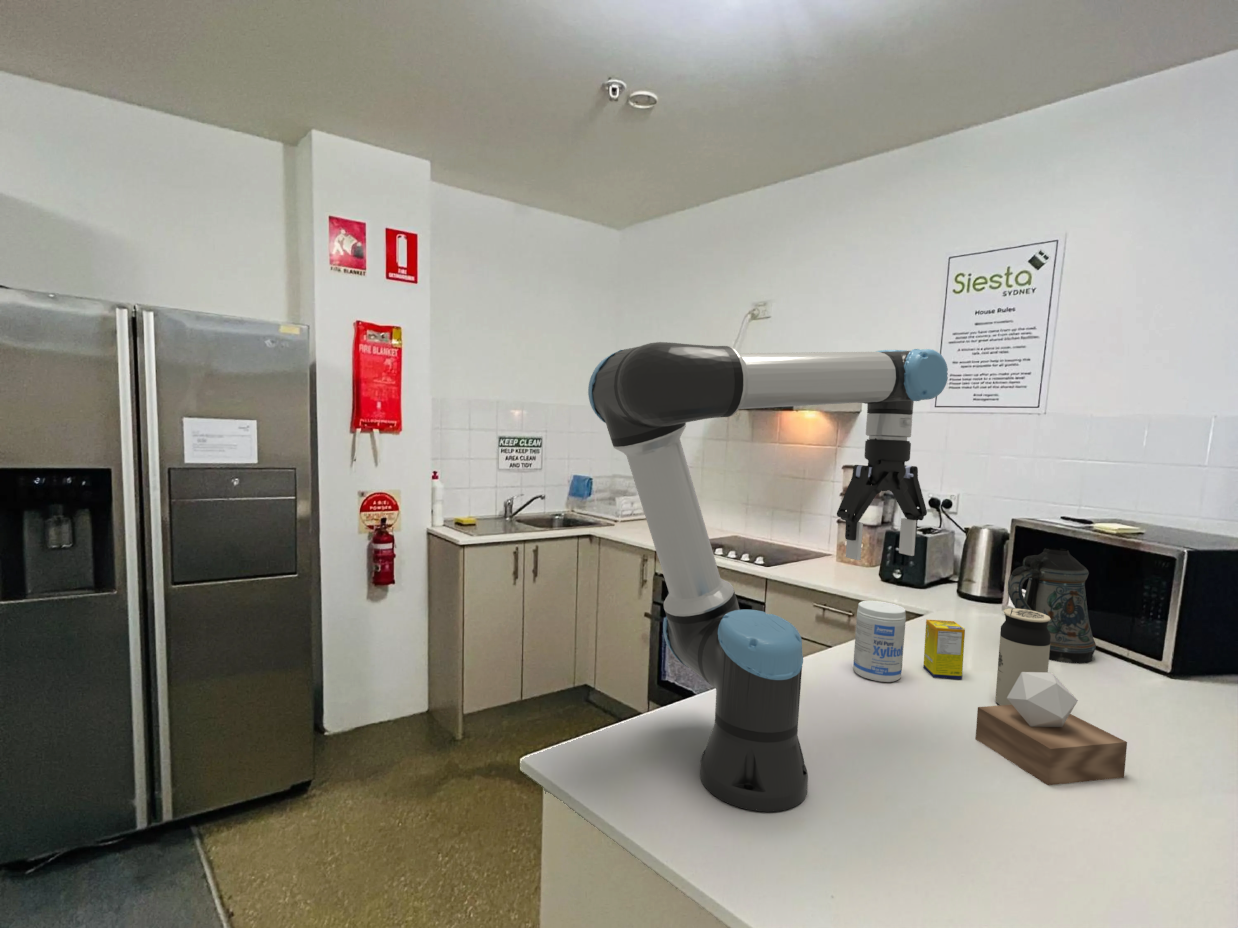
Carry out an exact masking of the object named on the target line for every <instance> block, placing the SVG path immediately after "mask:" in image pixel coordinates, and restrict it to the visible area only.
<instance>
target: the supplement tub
mask: <svg viewBox="0 0 1238 928" xmlns="http://www.w3.org/2000/svg"><path fill="white" fill-rule="evenodd" d="M857 605H858V606H857V612H856V623H855V633H854V634H855V636H854V650H853V664H852V667H853V671H854V672H855V673H856V674H857V675H858V676H860V677H862V678H863V679H864V678H865V679H868V680H871V681H876V682H880V683H881V682H882V683H891V682H896V681H898V680H900V679H901V677H902V671H903V656H904V647H905V634H906V620H907V619H906V618H907V615H906V609H905V607H903V606H901V605H898V604H894V603H891V602H885V601H880V600H864V601H860V602H859V603H858V604H857Z"/></svg>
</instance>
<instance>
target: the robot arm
mask: <svg viewBox="0 0 1238 928" xmlns="http://www.w3.org/2000/svg"><path fill="white" fill-rule="evenodd" d="M948 370H949V369H948V365H947V362H946V360H945V358H944V357H943V355H942V353H940V352H938V351H937V350H934V349H930V348H928V349H927V348H926V349H925V348H924V349H920V348H914V349H911V350H907V349H906V350H905V349H883V350H876V351H830V352H829V351H828V352H827V351H825V352H822V351H820V352H818V351H817V352H813V351H812V352H757V353H755V352H750V353H749V352H746V353H745V352H744V353H739V352H738V351H737V349H735V348H734V347H732V346H730V345H729V346H728V345H706V344H705V345H704V344H691V343H679V342H678V343H677V342H664V341H657V342H648V343H646V344H643V345H639V346H635V347H632V348H631V347H630V348H625V349H620V350H618V351H616V352H613V353H611V354H610V355H608V356H607V357H604V358H603V360H601V361H600V362H599V363H598V364H597V366H596V367H595V368H594V370H593V371H592V374H591V375H590V378H589V383H588V391H587V393H588V394H587V395H588V401H589V405H590V406H591V409H592V412H594V414H595V415H596V416H597V418H599V420H600V421H602V422H603V423H604V424H606V428H607V431H608V434H609V437H610V440H611V444H612V447H613V449H615V450H617V451H619V452H621V453H623V454H624V455H625V456H626V458H627V462H628V465H629V469H630V472H631V474H632V478H633V481H634V485H635V488H636V491H637V493H638V494H637V495H638V497H639V500H640V503H641V506H642V511H643V513H644V517H645V519H646V523H647V527H648V530H649V533H650V536H651V539H652V543H653V545H654V549H655V552H656V555H657V558H658V561H659V565H660V569H661V571H662V574H663V578H664V581H665V584H666V587H667V591H668V594H667V596H666V597H665V600H664V601H663V609H664V612H665V617H664V619H663V623H662V629H663V631H662V632H663V637H664V641H665V643H666V645H667V647H668V649H669V650H670V652H671V653H672V655H673V656H674V658H675V659H677V660H678V662H679V663H680V664H682V665H683V666H685V667H686V668H688V669H690V670H691V671H692V672H693V673H695V674H696V675H697V676H699V678H700V677H701V679H702V680H704V681H706V682H707V683H708V684H709V685H711V686H712V687H713V688H714V689H715V711H714V724H713V727H712V730H711V732H710V735H709V738H708V741H707V744H706V747H705V749H704V750H703V753H702V755H701V758H700V767H699V770H700V771H699V777H700V781H701V783H702V784H703V786H704V787H705V789H706V790H707V791H708V792H709V793H711V794H712V795H713V796H714V797H716V798H717V799H719V800H721V801H723V802H725V803H727V804H729V805H731V806H735V807H738V808H741V809H745V810H749V811H755V812H756V811H757V812H769V813H770V812H780V811H784V810H788V809H789V810H790V809H792V808H795V807H796V806H798V805H799V804H801V803H802V802H804V800H805V799H806V798H807V794H808V786H809V785H808V784H809V775H808V770H807V766H806V764H805V760H804V759H805V758H804V753H803V750H802V747H801V744H800V739H799V736H798V735H799V734H798V732H799V731H798V730H799V729H798V728H799V717H800V715H799V714H800V712H799V711H800V699H801V687H802V671H803V664H804V656H803V642H802V641H803V640H802V636H801V634H800V632H799V630H798V629H797V627H795V626H794V625H793V624H792V622H789V621H788V620H786V619H784V618H783V617H782V616H779V615H776V614H774V613H766V612H765V611H762V610H756V609H741V608H740V606H739V602H738V598H737V596H736V591H735V589H734V586H733V585H732V583H731V582H729V581H727V580H725V579H723V578H721V575H720V572H719V568H718V565H717V562H716V558H715V554H714V551H713V547H712V544H711V541H710V537H709V533H708V529H707V527H706V524H705V521H704V516H703V513H702V510H701V507H700V503H699V500H698V497H697V492H696V490H695V487H694V483H693V479H692V476H691V472H690V470H689V465H688V462H687V458H686V456H685V452H684V448H683V445H682V442H681V436H682V434H684V433H683V432H684V431H685V429H686V428H687V423H690V422H695V421H696V422H697V421H701V420H702V421H703V420H707V419H715V418H717V419H719V418H729V417H732V416H734V415H736V413H737V412H738V411H739V410H746V409H762V408H763V409H764V408H782V407H783V408H784V407H801V406H802V407H805V406H820V405H822V406H825V405H838V404H839V405H843V404H867V405H866V406H867V409H866V413H867V414H866V423H865V424H866V425H865V435H866V436H867V437H868V439H866V440H865V441H864V459H866V460H867V465H863V464H854V466H853V469H852V475H851V479H850V481H849V483H848V486H847V489H846V490H845V492H844V495H843V496H842V500H841V501H840V504H839V507H838V510H837V512H836V516H837V518H840V519H841V520H843V521H845V528H844V529H845V533H844V535H845V536H844V537H845V540H846V543H845V544H846V545H845V558H848V559H851V560H855V561H862V560H861V559H862V546H863V545H862V544H863V530H864V522H861V519H862V518H863V516H864V514H866V511H867V510H868V509H869V507H870V505H871V504H872V503H873V501H874V500H875V497H876V496H877V495H879V494H881V492H888V491H889V492H890V493H892V495H893V497H894V499H895V500H896V502H897V505H898V506H899V508H900V510H901V512H902V514H903V516H904V518H901V517H900V529H899V530H900V531H899V545H898V553H899V554H902V555H906V556H911V557H913V556H915V549H916V548H915V546H916V536H917V532H918V521H923V520H924V517H926V516H927V514H928V510H927V507H926V503H925V499H924V496H923V492H922V488H921V485H920V481H919V477H918V476H919V470H918V466H917V465H916V466H915V465H906V464H905V463H906V462H909V461H910V459H911V447H912V443H911V442H910V440H908V438H911V437H912V428H913V427H912V426H913V413H914V402H920V401H926V400H932V399H935V398H936V397H938V396H939V395H940V394H942V393H943V392H944V389H945V387H946V386H947V384H948V378H949V377H948Z"/></svg>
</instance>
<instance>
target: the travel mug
mask: <svg viewBox="0 0 1238 928" xmlns="http://www.w3.org/2000/svg"><path fill="white" fill-rule="evenodd" d="M1003 614H1004V618H1005V620H1004V622H1003V623H1002V624H1001V626H1000V632H999V633H1000V634H999V646H998V647H999V648H998V661H997V671H996V672H997V675H996V684H995V685H996V686H995V687H996V688H995V703H997V705H998V706H1000V705H1012V704H1011V703H1010V701H1009V700H1008V699H1007V697H1008V695H1009V693H1010V692H1011V690H1012V688H1013V686H1014V685H1015V683H1016V681H1017V679H1018V678H1019V676H1020V674H1021V672H1047V673H1049V661H1050V660H1049V652H1050V639H1051V635H1050V633H1049V631H1048V629H1047V625H1048V622H1049V621H1050V620H1051V619H1050V617H1049V616H1047V615H1045V614H1043V613H1040V612H1036V611H1032V610H1026V609H1016V608H1015V607H1014V608H1006V609H1004V610H1003Z"/></svg>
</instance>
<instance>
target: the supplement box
mask: <svg viewBox="0 0 1238 928" xmlns="http://www.w3.org/2000/svg"><path fill="white" fill-rule="evenodd" d="M924 636H925V637H924V648H923V649H924V652H923V653H924V654H923V666H922V667H923V669H924V670H925V671H926V673H928V674H929V675H930V676H931V677H932V678H935V679H936V678H938V679H951V680H952V679H953V680H962V679H963V669H964V668H963V667H964V653H965V652H964V651H965V650H964V649H965V637H966V629H965V628H964V627H963V626H961V625H960V624H958V623H957V622H956V621H955V620H941V619H926V621H925V634H924Z"/></svg>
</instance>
